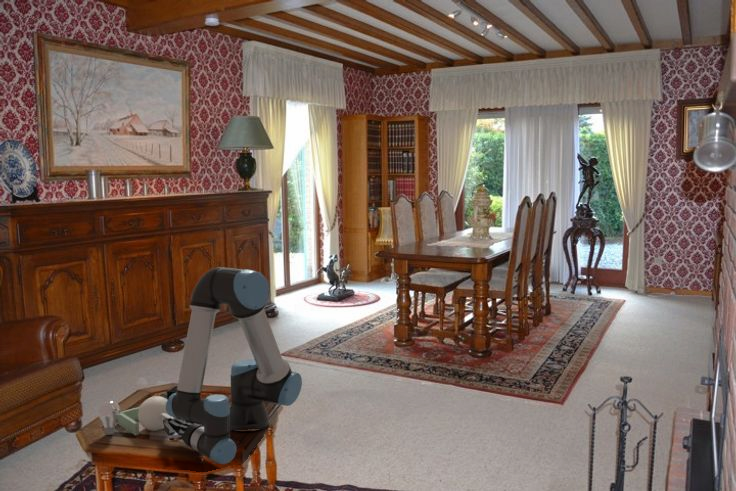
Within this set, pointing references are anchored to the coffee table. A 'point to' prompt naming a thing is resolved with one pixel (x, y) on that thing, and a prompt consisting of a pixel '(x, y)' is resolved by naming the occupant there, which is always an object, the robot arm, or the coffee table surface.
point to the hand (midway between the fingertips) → (162, 417)
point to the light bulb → (109, 415)
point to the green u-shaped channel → (129, 420)
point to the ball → (152, 413)
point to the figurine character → (169, 392)
